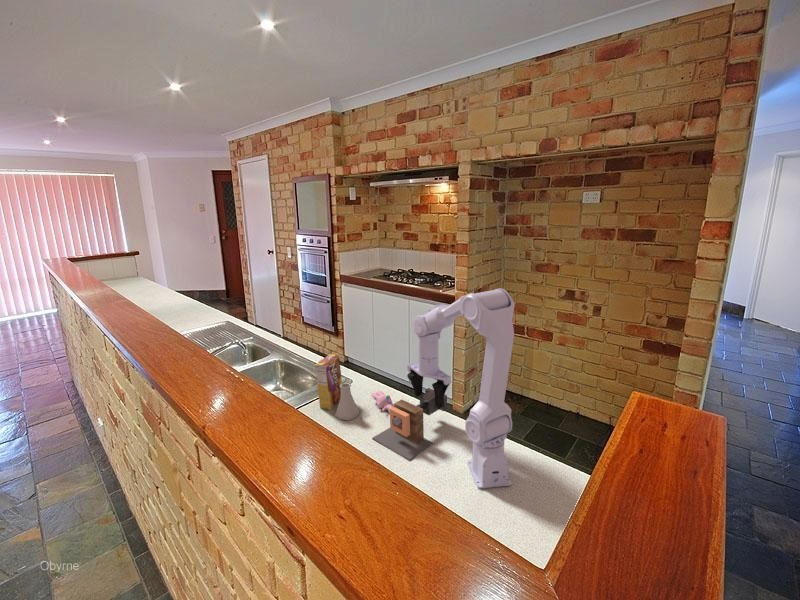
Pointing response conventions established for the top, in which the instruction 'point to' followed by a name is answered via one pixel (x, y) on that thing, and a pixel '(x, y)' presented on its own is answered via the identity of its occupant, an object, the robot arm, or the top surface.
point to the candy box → (329, 381)
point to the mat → (401, 444)
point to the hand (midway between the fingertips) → (428, 399)
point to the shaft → (427, 405)
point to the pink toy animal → (383, 400)
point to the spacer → (405, 418)
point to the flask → (346, 404)
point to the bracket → (412, 420)
